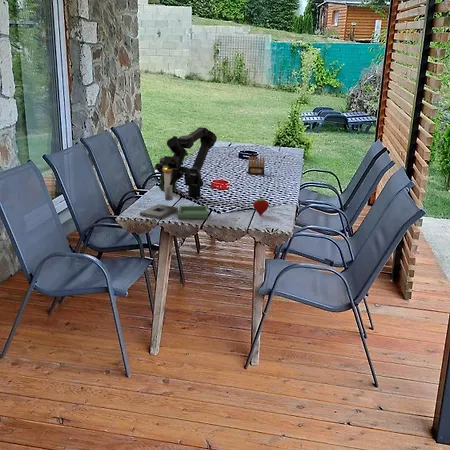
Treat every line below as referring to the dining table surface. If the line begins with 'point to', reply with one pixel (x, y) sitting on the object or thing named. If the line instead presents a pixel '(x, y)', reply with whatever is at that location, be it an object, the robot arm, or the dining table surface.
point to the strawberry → (261, 206)
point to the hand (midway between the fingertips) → (166, 184)
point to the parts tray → (193, 212)
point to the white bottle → (168, 183)
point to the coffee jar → (162, 177)
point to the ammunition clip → (256, 166)
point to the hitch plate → (153, 210)
